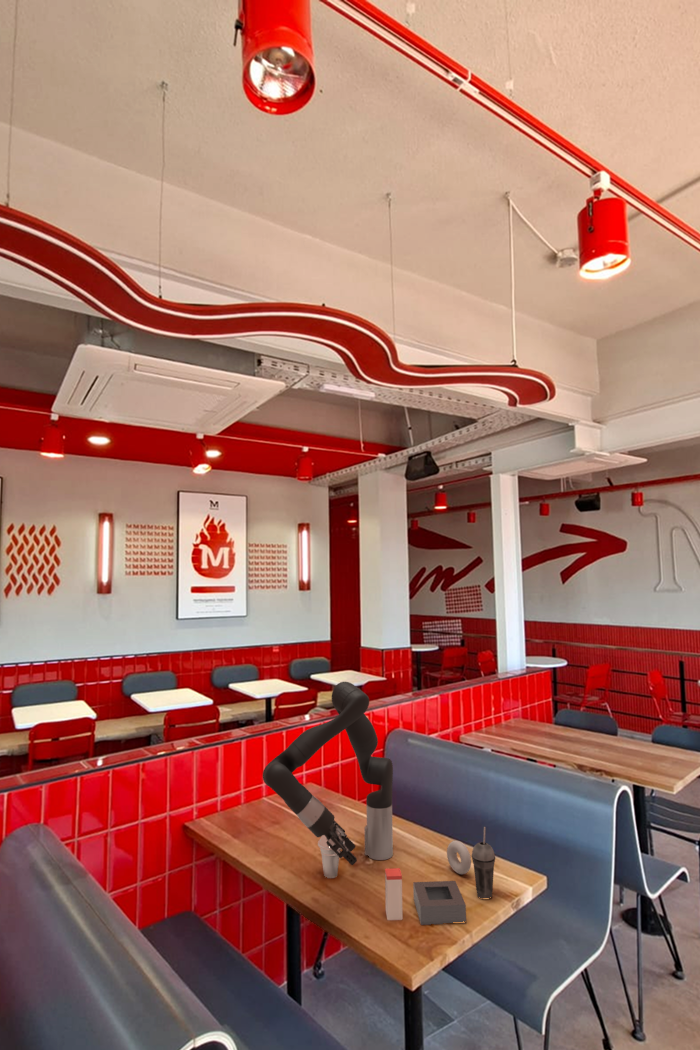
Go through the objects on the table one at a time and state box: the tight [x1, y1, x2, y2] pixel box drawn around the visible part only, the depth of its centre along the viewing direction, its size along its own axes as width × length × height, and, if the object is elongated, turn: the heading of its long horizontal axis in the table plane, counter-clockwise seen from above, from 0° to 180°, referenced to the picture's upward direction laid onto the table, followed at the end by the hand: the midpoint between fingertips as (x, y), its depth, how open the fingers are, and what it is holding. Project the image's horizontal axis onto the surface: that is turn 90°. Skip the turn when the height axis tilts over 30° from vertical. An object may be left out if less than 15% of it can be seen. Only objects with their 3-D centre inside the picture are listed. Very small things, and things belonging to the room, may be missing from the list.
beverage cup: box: [471, 826, 496, 899], centre depth 177 cm, size 7×7×20 cm
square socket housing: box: [412, 880, 467, 926], centre depth 169 cm, size 13×13×5 cm
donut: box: [446, 840, 472, 875], centre depth 191 cm, size 10×4×10 cm, turn 34°
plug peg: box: [384, 867, 403, 921], centre depth 167 cm, size 4×4×12 cm
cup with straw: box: [317, 835, 342, 879], centre depth 191 cm, size 8×9×20 cm
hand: (354, 855), depth 167 cm, fingers open, 8 cm apart
